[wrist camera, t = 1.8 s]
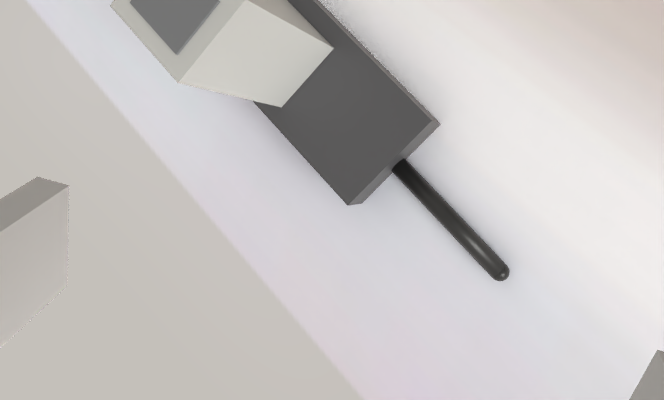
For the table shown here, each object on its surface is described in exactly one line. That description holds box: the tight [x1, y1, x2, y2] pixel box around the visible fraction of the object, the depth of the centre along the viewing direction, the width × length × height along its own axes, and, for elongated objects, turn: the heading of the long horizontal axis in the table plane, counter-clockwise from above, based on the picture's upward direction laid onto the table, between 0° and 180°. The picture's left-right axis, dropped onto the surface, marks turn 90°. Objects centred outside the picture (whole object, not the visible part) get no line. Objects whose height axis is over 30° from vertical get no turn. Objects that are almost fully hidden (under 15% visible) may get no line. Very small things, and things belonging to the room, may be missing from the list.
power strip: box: [253, 0, 509, 281], centre depth 35 cm, size 32×6×3 cm, turn 44°
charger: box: [110, 0, 334, 107], centre depth 31 cm, size 5×4×12 cm
